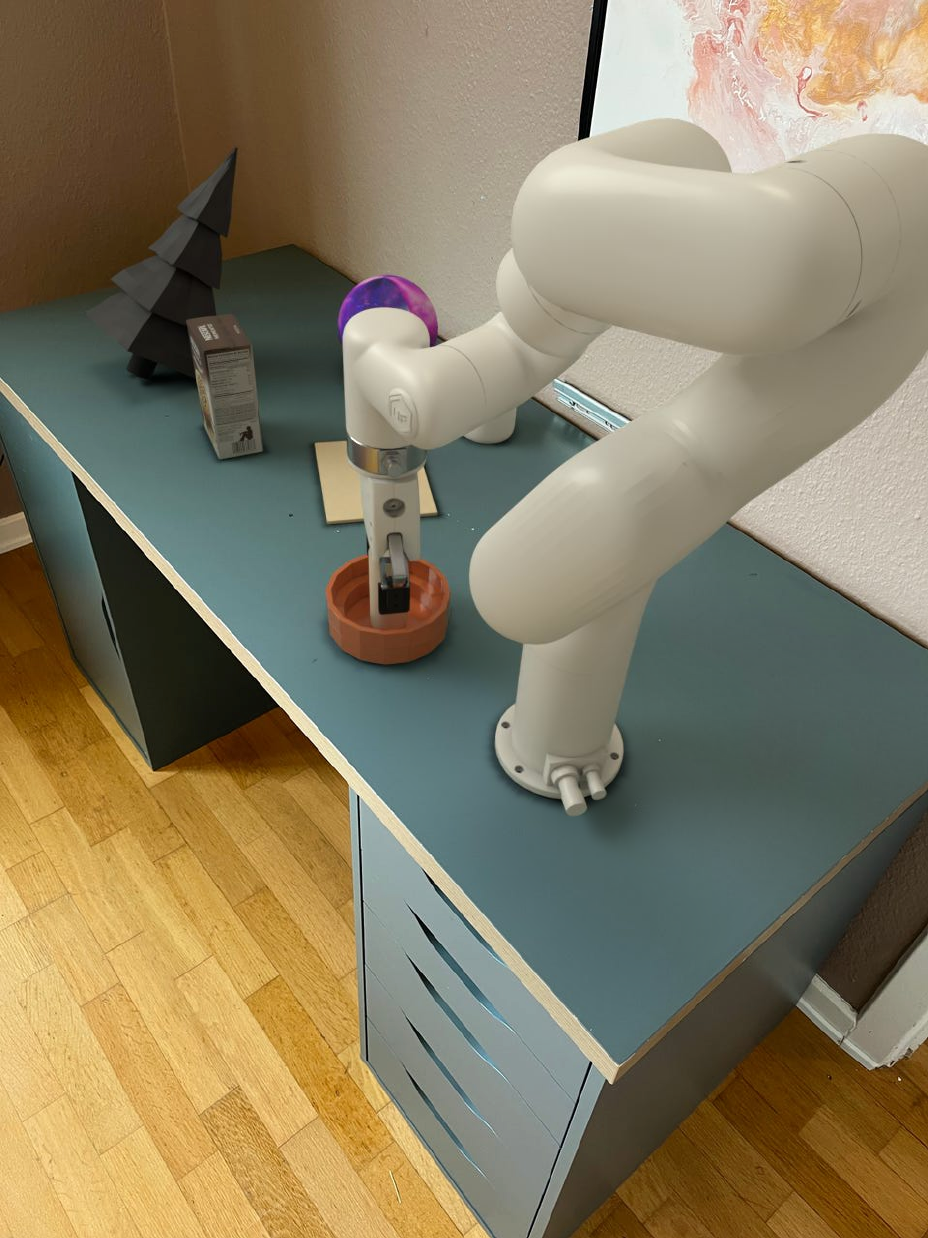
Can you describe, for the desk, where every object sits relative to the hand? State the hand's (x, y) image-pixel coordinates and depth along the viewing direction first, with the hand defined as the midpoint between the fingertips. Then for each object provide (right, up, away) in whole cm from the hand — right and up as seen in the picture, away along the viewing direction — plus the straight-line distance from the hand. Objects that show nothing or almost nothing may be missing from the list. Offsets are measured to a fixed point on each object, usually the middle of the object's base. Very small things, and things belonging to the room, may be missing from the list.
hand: (387, 581), depth 98 cm
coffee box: (-24, +21, +30) cm, 43 cm away
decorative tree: (-34, +35, +44) cm, 66 cm away
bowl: (0, -5, +4) cm, 6 cm away
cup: (+10, +24, +36) cm, 45 cm away
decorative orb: (-4, +34, +45) cm, 57 cm away
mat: (-4, +15, +24) cm, 29 cm away
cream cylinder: (0, -4, +4) cm, 6 cm away
